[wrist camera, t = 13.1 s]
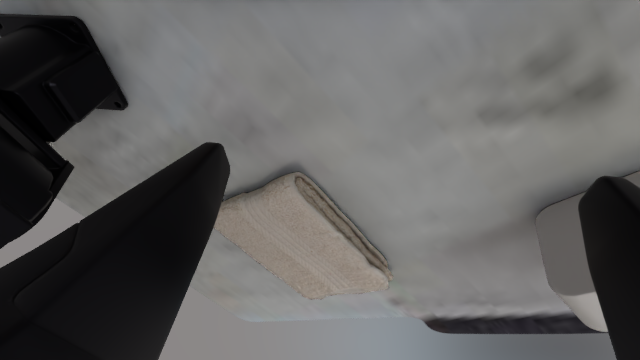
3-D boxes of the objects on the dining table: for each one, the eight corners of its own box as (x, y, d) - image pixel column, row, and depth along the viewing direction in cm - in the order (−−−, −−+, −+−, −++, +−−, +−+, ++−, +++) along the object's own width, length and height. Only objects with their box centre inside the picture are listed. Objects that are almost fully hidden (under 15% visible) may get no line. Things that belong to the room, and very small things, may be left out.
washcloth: (314, 284, 41) (310, 308, 39) (207, 201, 31) (193, 226, 29) (401, 269, 34) (401, 297, 32) (298, 160, 25) (289, 188, 23)
